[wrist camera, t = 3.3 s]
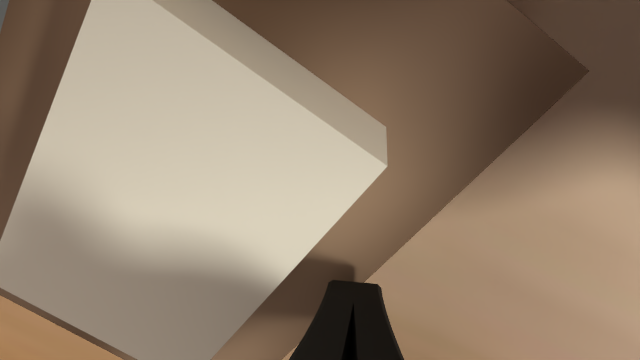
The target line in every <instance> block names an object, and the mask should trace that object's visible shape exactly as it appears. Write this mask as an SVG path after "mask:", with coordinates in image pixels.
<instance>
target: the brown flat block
mask: <svg viewBox="0 0 640 360" xmlns="http://www.w3.org/2000/svg"><path fill="white" fill-rule="evenodd" d="M212 1H214V2H215V3H216V4H218V5H219V6H221V7H222V8H223V9H225V10H226V11H227V12H229V13H230V14H231V15H233V16H234V17H236V18H237V19H238V20H240V21H241V22H242V23H244V24H245V25H247V26H248V27H249V28H251V29H252V30H253V31H255V32H256V33H258V34H259V35H260V36H262V37H263V38H264V39H266V40H267V41H269V42H270V43H271V44H273V45H274V46H275V47H277V48H278V49H280V50H281V51H282V52H284V53H285V54H286V55H288V56H289V57H291V58H292V59H293V60H295V61H296V62H297V63H299V64H300V65H302V66H303V67H304V68H306V69H307V70H308V71H310V72H311V73H313V74H314V75H315V76H317V77H318V78H319V79H321V80H322V81H324V82H325V83H326V84H328V85H329V86H330V87H332V88H333V89H335V90H336V91H337V92H339V93H340V94H341V95H343V96H344V97H346V98H347V99H348V100H350V101H351V102H352V103H354V104H355V105H357V106H358V107H359V108H361V109H362V110H363V111H365V112H366V113H368V114H369V115H370V116H372V117H373V118H374V119H376V120H377V121H379V122H380V123H381V124H383V125H384V126H385V127H386V136H387V167H386V169H385V170H384V171H383V172H382V173H381V174H380V175H379V176H378V177H377V178H376V179H375V181H374V182H373V183H372V184H371V185H370V186H369V187H368V188H367V189H366V190H365V191H364V193H363V194H362V195H361V196H360V197H359V198H358V199H357V200H356V201H355V202H354V203H353V205H352V206H351V207H350V208H349V209H348V210H347V211H346V212H345V213H344V214H343V215H342V217H341V218H340V219H339V220H338V221H337V222H336V223H335V224H334V225H333V226H332V227H331V229H330V230H329V231H328V232H327V233H326V234H325V235H324V236H323V237H322V238H321V239H320V241H319V242H318V243H317V244H316V245H315V246H314V247H313V248H312V249H311V250H310V251H309V253H308V254H307V255H306V256H305V257H304V258H303V259H302V260H301V261H300V262H299V264H298V265H297V266H296V267H295V268H294V269H293V270H292V271H291V272H290V273H289V274H288V276H287V277H286V278H285V279H284V280H283V281H282V282H281V283H280V284H279V285H278V286H277V288H276V289H275V290H274V291H273V292H272V293H271V294H270V295H269V296H268V297H267V298H266V300H265V301H264V302H263V303H262V304H261V305H260V306H259V307H258V308H257V309H256V310H255V312H254V313H253V314H252V315H251V316H250V317H249V318H248V319H247V320H246V321H245V322H244V324H243V325H242V326H241V327H240V328H239V329H238V330H237V331H236V332H235V333H234V334H233V336H232V337H231V338H230V339H229V340H228V341H227V342H226V343H225V344H224V345H223V346H222V348H221V349H220V350H219V351H218V352H217V353H216V354H215V355H214V356H213V357H212V359H211V360H282V359H283V358H284V357H285V356H286V355H287V354H288V353H289V352H290V351H291V350H292V349H293V348H295V347H296V346H297V345H298V344H299V343H300V342H301V340H302V338H303V337H304V335H305V333H306V331H307V329H308V328H309V326H310V324H311V322H312V320H313V319H314V317H315V315H316V313H317V311H318V309H319V306H320V304H321V302H322V300H323V297H324V295H325V292H326V289H327V286H328V282H330V281H332V280H341V281H351V282H360V283H364V282H365V281H366V280H367V279H368V278H369V277H370V276H371V275H372V274H373V273H374V272H376V271H377V270H378V269H379V268H380V267H381V266H382V265H383V264H384V263H385V262H386V261H387V260H388V259H389V258H390V257H392V256H393V255H394V254H395V253H396V252H397V251H398V250H399V249H400V248H401V247H402V246H403V245H404V244H405V243H406V242H408V241H409V240H410V239H411V238H412V237H413V236H414V235H415V234H416V233H417V232H418V231H419V230H420V229H421V228H422V227H423V226H425V225H426V224H427V223H428V222H429V221H430V220H431V219H432V218H433V217H434V216H435V215H436V214H437V213H438V212H439V211H441V210H442V209H443V208H444V207H445V206H446V205H447V204H448V203H449V202H450V201H451V200H452V199H453V198H454V197H455V196H457V195H458V194H459V193H460V192H461V191H462V190H463V189H464V188H465V187H466V186H467V185H468V184H469V183H470V182H471V181H473V180H474V179H475V178H476V177H477V176H478V175H479V174H480V173H481V172H482V171H483V170H484V169H485V168H486V167H487V166H489V165H490V164H491V163H492V162H493V161H494V160H495V159H496V158H497V157H498V156H499V155H500V154H501V153H502V152H503V151H505V150H506V149H507V148H508V147H509V146H510V145H511V144H512V143H513V142H514V141H515V140H516V139H517V138H518V137H519V136H520V135H522V134H523V133H524V132H525V131H526V130H527V129H528V128H529V127H530V126H531V125H532V124H533V123H534V122H535V121H536V120H538V119H539V118H540V117H541V116H542V115H543V114H544V113H545V112H546V111H547V110H548V109H549V108H550V107H551V106H552V105H554V104H555V103H556V102H557V101H558V100H559V99H560V98H561V97H562V96H563V95H564V94H565V93H566V92H567V91H568V90H570V89H571V88H572V87H573V86H574V85H575V84H576V83H577V82H578V81H579V80H580V79H581V78H582V77H583V76H584V75H586V74H587V73H588V72H589V70H588V69H586V68H585V67H584V66H583V65H582V64H581V63H579V62H578V61H577V60H576V59H575V58H574V57H572V56H571V55H570V54H569V53H568V52H567V51H565V50H564V49H563V48H562V47H561V46H560V45H558V44H557V43H556V42H555V41H554V40H553V39H551V38H550V37H549V36H548V35H547V34H546V33H544V32H543V31H542V30H541V29H540V28H539V27H537V26H536V25H535V24H534V23H533V22H532V21H530V20H529V19H528V18H527V17H526V16H525V15H523V14H522V13H521V12H520V11H519V10H518V9H516V8H515V7H514V6H513V5H512V4H511V3H509V2H508V1H507V0H212ZM90 2H91V0H9V3H8V6H7V10H6V14H5V17H4V21H3V24H2V28H1V31H0V240H1V238H2V235H3V232H4V230H5V227H6V225H7V222H8V219H9V217H10V214H11V211H12V209H13V206H14V203H15V201H16V198H17V195H18V193H19V190H20V187H21V185H22V182H23V180H24V177H25V174H26V172H27V169H28V166H29V164H30V161H31V158H32V156H33V153H34V150H35V148H36V145H37V142H38V140H39V137H40V135H41V132H42V129H43V127H44V124H45V121H46V119H47V116H48V113H49V111H50V108H51V105H52V103H53V100H54V97H55V95H56V92H57V90H58V87H59V84H60V82H61V79H62V76H63V74H64V71H65V68H66V66H67V63H68V60H69V58H70V55H71V53H72V50H73V47H74V45H75V42H76V39H77V37H78V34H79V31H80V29H81V26H82V23H83V21H84V18H85V15H86V13H87V10H88V8H89V5H90ZM0 295H1V296H3V297H5V298H7V299H9V300H11V301H13V302H14V303H16V304H18V305H20V306H22V307H24V308H26V309H28V310H30V311H32V312H34V313H36V314H38V315H39V316H41V317H43V318H45V319H47V320H49V321H51V322H53V323H55V324H57V325H59V326H61V327H62V328H64V329H66V330H68V331H70V332H72V333H74V334H76V335H78V336H80V337H82V338H84V339H86V340H87V341H89V342H91V343H93V344H95V345H97V346H99V347H101V348H103V349H105V350H107V351H109V352H111V353H112V354H114V355H116V356H118V357H120V358H122V359H124V360H137V359H135V358H134V357H132V356H130V355H128V354H126V353H124V352H122V351H120V350H118V349H116V348H114V347H112V346H111V345H109V344H107V343H105V342H103V341H101V340H99V339H97V338H95V337H93V336H91V335H90V334H88V333H86V332H84V331H82V330H80V329H78V328H76V327H74V326H72V325H70V324H69V323H67V322H65V321H63V320H61V319H59V318H57V317H55V316H53V315H51V314H49V313H48V312H46V311H44V310H42V309H40V308H38V307H36V306H34V305H32V304H30V303H28V302H27V301H25V300H23V299H21V298H19V297H17V296H15V295H13V294H11V293H9V292H7V291H6V290H4V289H2V288H0Z"/></svg>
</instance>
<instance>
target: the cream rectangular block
mask: <svg viewBox="0 0 640 360" xmlns="http://www.w3.org/2000/svg"><path fill="white" fill-rule="evenodd" d="M386 167H387V136H386V127H385V126H384V125H383V124H381V123H380V122H379V121H377V120H376V119H374V118H373V117H372V116H370V115H369V114H368V113H366V112H365V111H363V110H362V109H361V108H359V107H358V106H357V105H355V104H354V103H352V102H351V101H350V100H348V99H347V98H346V97H344V96H343V95H341V94H340V93H339V92H337V91H336V90H335V89H333V88H332V87H330V86H329V85H328V84H326V83H325V82H324V81H322V80H321V79H319V78H318V77H317V76H315V75H314V74H313V73H311V72H310V71H308V70H307V69H306V68H304V67H303V66H302V65H300V64H299V63H297V62H296V61H295V60H293V59H292V58H291V57H289V56H288V55H286V54H285V53H284V52H282V51H281V50H280V49H278V48H277V47H275V46H274V45H273V44H271V43H270V42H269V41H267V40H266V39H264V38H263V37H262V36H260V35H259V34H258V33H256V32H255V31H253V30H252V29H251V28H249V27H248V26H247V25H245V24H244V23H242V22H241V21H240V20H238V19H237V18H236V17H234V16H233V15H231V14H230V13H229V12H227V11H226V10H225V9H223V8H222V7H221V6H219V5H218V4H216V3H215V2H214V1H212V0H91V2H90V5H89V8H88V10H87V13H86V15H85V18H84V21H83V23H82V26H81V29H80V31H79V34H78V37H77V39H76V42H75V45H74V47H73V50H72V53H71V55H70V58H69V60H68V63H67V66H66V68H65V71H64V74H63V76H62V79H61V82H60V84H59V87H58V90H57V92H56V95H55V97H54V100H53V103H52V105H51V108H50V111H49V113H48V116H47V119H46V121H45V124H44V127H43V129H42V132H41V135H40V137H39V140H38V142H37V145H36V148H35V150H34V153H33V156H32V158H31V161H30V164H29V166H28V169H27V172H26V174H25V177H24V180H23V182H22V185H21V187H20V190H19V193H18V195H17V198H16V201H15V203H14V206H13V209H12V211H11V214H10V217H9V219H8V222H7V225H6V227H5V230H4V232H3V235H2V238H1V240H0V288H2V289H4V290H6V291H7V292H9V293H11V294H13V295H15V296H17V297H19V298H21V299H23V300H25V301H27V302H28V303H30V304H32V305H34V306H36V307H38V308H40V309H42V310H44V311H46V312H48V313H49V314H51V315H53V316H55V317H57V318H59V319H61V320H63V321H65V322H67V323H69V324H70V325H72V326H74V327H76V328H78V329H80V330H82V331H84V332H86V333H88V334H90V335H91V336H93V337H95V338H97V339H99V340H101V341H103V342H105V343H107V344H109V345H111V346H112V347H114V348H116V349H118V350H120V351H122V352H124V353H126V354H128V355H130V356H132V357H134V358H135V359H137V360H211V359H212V357H213V356H214V355H215V354H216V353H217V352H218V351H219V350H220V349H221V348H222V346H223V345H224V344H225V343H226V342H227V341H228V340H229V339H230V338H231V337H232V336H233V334H234V333H235V332H236V331H237V330H238V329H239V328H240V327H241V326H242V325H243V324H244V322H245V321H246V320H247V319H248V318H249V317H250V316H251V315H252V314H253V313H254V312H255V310H256V309H257V308H258V307H259V306H260V305H261V304H262V303H263V302H264V301H265V300H266V298H267V297H268V296H269V295H270V294H271V293H272V292H273V291H274V290H275V289H276V288H277V286H278V285H279V284H280V283H281V282H282V281H283V280H284V279H285V278H286V277H287V276H288V274H289V273H290V272H291V271H292V270H293V269H294V268H295V267H296V266H297V265H298V264H299V262H300V261H301V260H302V259H303V258H304V257H305V256H306V255H307V254H308V253H309V251H310V250H311V249H312V248H313V247H314V246H315V245H316V244H317V243H318V242H319V241H320V239H321V238H322V237H323V236H324V235H325V234H326V233H327V232H328V231H329V230H330V229H331V227H332V226H333V225H334V224H335V223H336V222H337V221H338V220H339V219H340V218H341V217H342V215H343V214H344V213H345V212H346V211H347V210H348V209H349V208H350V207H351V206H352V205H353V203H354V202H355V201H356V200H357V199H358V198H359V197H360V196H361V195H362V194H363V193H364V191H365V190H366V189H367V188H368V187H369V186H370V185H371V184H372V183H373V182H374V181H375V179H376V178H377V177H378V176H379V175H380V174H381V173H382V172H383V171H384V170H385V169H386Z"/></svg>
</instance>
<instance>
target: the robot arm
mask: <svg viewBox="0 0 640 360" xmlns="http://www.w3.org/2000/svg"><path fill="white" fill-rule="evenodd" d="M289 360H404V358H403V356H402V354H401V351H400V349H399V346H398V344H397V341H396V338H395V336H394V333H393V331H392V328H391V325H390V322H389V319H388V316H387V312H386V309H385V305H384V301H383V297H382V291H381V287H380V286H379V285H378V284H370V283H360V282H351V281H341V280H332V281H330V282H328V286H327V289H326V292H325V295H324V297H323V300H322V302H321V304H320V306H319V309H318V311H317V313H316V315H315V317H314V319H313V320H312V322H311V324H310V326H309V328H308V329H307V331H306V333H305V335H304V337H303V338H302V340H301V342H300V343H299V345H298V346H297V348H296V349H295V351H294V353H293V354H292V356H291V357H290V359H289Z"/></svg>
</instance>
